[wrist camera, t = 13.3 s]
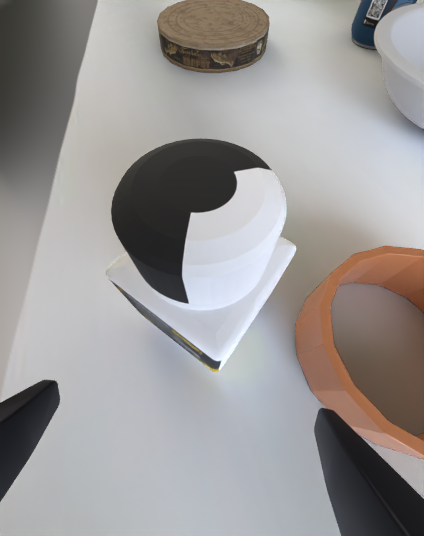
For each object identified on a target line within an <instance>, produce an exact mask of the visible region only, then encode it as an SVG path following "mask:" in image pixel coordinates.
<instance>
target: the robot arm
mask: <svg viewBox="0 0 424 536" xmlns="http://www.w3.org/2000/svg"><path fill="white" fill-rule="evenodd" d="M59 403H60V395H59V389H58V383H57V382H56V381H54V380H42V381H40V382H38V383H36V384H35V385H33V386H31V387H29V388H27V389H25V390H23V391H22V392H20V393H18V394H16V395H14V396H12V397H10V398H8V399H7V400H5V401H3V402H1V403H0V502H1V500H2V499H3V497H4V496H5V494H6V493H7V491H8V489H9V488H10V486H11V485H12V483H13V482H14V480H15V479H16V477H17V476H18V474H19V473H20V471H21V470H22V468H23V467H24V465H25V464H26V462H27V461H28V459H29V458H30V456H31V454H32V453H33V451H34V449H35V448H36V446H37V444H38V442H39V440H40V439H41V437H42V435H43V433H44V431H45V429H46V428H47V426H48V424H49V422H50V420H51V419H52V417H53V415H54V413H55V411H56V410H57V408H58V406H59ZM314 432H315V438H316V442H317V447H318V451H319V456H320V460H321V465H322V469H323V474H324V478H325V483H326V487H327V491H328V494H329V498H330V501H331V504H332V507H333V511H334V514H335V517H336V520H337V523H338V526H339V530H340V533H341V536H424V499H423V498H422V497H421V496H420V495H419V494H418V493H417V492H416V491H415V490H414V489H413V488H412V487H411V486H410V485H409V484H408V483H407V482H406V481H405V480H404V479H403V478H402V477H401V476H400V475H399V474H398V473H397V472H396V471H395V470H394V469H393V468H392V467H391V466H390V465H389V464H388V463H387V462H386V461H385V460H384V459H383V458H382V457H381V456H380V455H379V454H378V453H377V452H376V451H375V450H374V449H373V448H372V447H370V446H369V445H368V444H367V443H366V442H365V441H364V440H363V439H362V438H361V437H360V436H359V435H358V434H357V433H356V432H355V431H354V430H353V429H352V428H351V427H350V426H349V425H348V424H347V423H346V422H345V421H344V420H343V419H342V418H341V417H340V416H339V415H338V414H337V413H336V412H335V411H334V410H332V409H325V408H320V409H319V411H318V415H317V419H316V423H315V427H314Z"/></svg>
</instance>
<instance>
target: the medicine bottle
mask: <svg viewBox="0 0 424 536" xmlns="http://www.w3.org/2000/svg"><path fill="white" fill-rule="evenodd" d="M286 212H287V205H286V197H285V193H284V190H283V188H282V185H281V183H280V181H279V180H278V178H277V177H276V175H275V174H274V172H273V171H272V170H271V169H270V167H269V166H268V165H267V164H266V163H265V162H264V161H263V160H262V159H261V158H259V157H258V156H257V155H255V154H254V153H252V152H250V151H249V150H247V149H245V148H243V147H240V146H238V145H235V144H232V143H229V142H225V141H220V140H213V139H188V140H181V141H176V142H173V143H169V144H166V145H163V146H161V147H158V148H156V149H154V150H152V151H150V152H148V153H147V154H145V155H144V156H142V157H141V158H140V159H138V160H137V161H136V162H135V163H134V164H133V165H132V166H131V167H130V168H129V169H128V170H127V172H126V173H125V175H124V176H123V178H122V179H121V181H120V183H119V185H118V187H117V189H116V191H115V194H114V197H113V200H112V208H111V214H112V222H113V226H114V230H115V232H116V234H117V236H118V238H119V240H120V242H121V243H122V245H123V247H124V248H125V250H126V251H125V252H124V253H123V254H122V255H121V256H120V257H119V258H117V259H116V260H115V261H114V262H113V263H112V264H111V265H110V266H109V267H108V268H107V270H106V275H107V277H108V278H109V279H110V281H111V282H112V283H113V284H114V285H115V286H116V287H117V288H118V289H119V290H120V292H121V293H122V294H123V295H124V296H125V297H126V298H127V299H128V300H129V301H130V302H131V304H132V305H133V306H134V307H135V308H136V309H137V310H138V311H139V312H140V313H141V314H142V315H143V316H144V317H145V318H146V319H148V320H149V321H150V322H151V323H153V324H154V325H155V326H157V327H158V328H159V329H160V330H162V331H163V332H164V333H165V334H167V335H168V336H169V337H170V338H172V339H173V340H174V341H175V342H177V343H178V344H179V345H180V346H182V347H183V348H184V349H185V350H187V351H188V352H189V353H190V354H192V355H193V356H194V357H196V358H197V359H198V360H199V361H201V362H202V363H203V364H204V365H206V366H207V367H208V368H209V369H211V370H212V371H214V372H219V371H220V370H221V368H222V367H223V365H224V364H225V362H226V361H227V359H228V358H229V356H230V355H231V353H232V352H233V350H234V349H235V347H236V346H237V344H238V343H239V341H240V340H241V338H242V337H243V335H244V334H245V332H246V331H247V329H248V328H249V326H250V325H251V323H252V322H253V320H254V319H255V317H256V316H257V314H258V313H259V311H260V310H261V308H262V307H263V305H264V304H265V302H266V301H267V299H268V298H269V296H270V294H271V293H272V291H273V289H274V288H275V286H276V284H277V283H278V281H279V279H280V278H281V276H282V274H283V273H284V271H285V269H286V268H287V266H288V264H289V263H290V261H291V259H292V257H293V256H294V254H295V252H296V246H295V244H293V243H292V242H290V241H288V240H287V239H285V238H283V237H281V236H280V234H281V231H282V229H283V226H284V223H285V219H286Z"/></svg>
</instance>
